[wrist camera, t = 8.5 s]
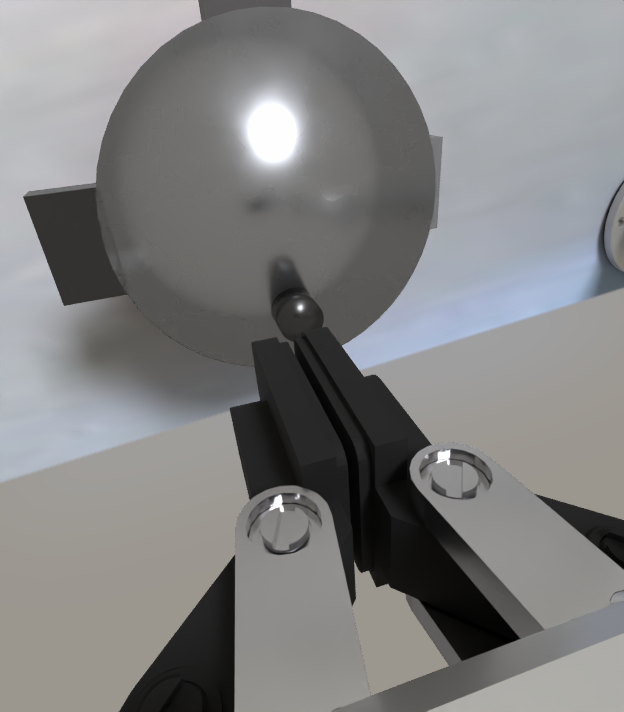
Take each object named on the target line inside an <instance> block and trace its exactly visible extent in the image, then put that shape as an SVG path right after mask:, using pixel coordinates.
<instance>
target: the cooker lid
mask: <svg viewBox="0 0 624 712" xmlns="http://www.w3.org/2000/svg"><path fill="white" fill-rule="evenodd" d="M23 198H24V200H25V203H26V206H27V208H28V211H29V214H30V216H31V219H32V222H33V224H34V227H35V230H36V232H37V235H38V238H39V240H40V243H41V246H42V248H43V251H44V254H45V256H46V259H47V262H48V264H49V267H50V270H51V272H52V275H53V278H54V280H55V283H56V286H57V288H58V291H59V294H60V296H61V299H62V302H63V304H64V306H65V305H71V304H76V303H82V302H87V301H93V300H99V299H104V298H110V297H115V296H121V295H126V294H128V295H129V297H130V298H131V300H132V301H133V302H134V304H135V305H136V306H137V308H138V309H139V310H140V311H141V312H142V313H143V314H144V315H145V316H146V317H147V318H148V319H149V320H150V321H151V322H152V323H153V324H154V325H155V326H156V327H157V328H159V329H160V330H161V331H162V332H164V333H165V334H166V335H167V336H169V337H170V338H172V339H173V340H175V341H177V342H178V343H180V344H181V345H183V346H185V347H186V348H188V349H191V350H193V351H195V352H197V353H199V354H201V355H204V356H206V357H210V358H213V359H216V360H219V361H222V362H227V363H232V364H238V365H244V366H255V365H254V359H253V353H252V345H251V342H254V341H259V340H263V339H268V338H273V337H277V338H278V340H279V342H280V343H281V342H286V341H287V342H288V343H289V345H290V347H291V349H292V351H293V352H294V340H296V339H301V333H302V332H303V331H308V330H312V329H317V328H322V327H328V328H329V330H330V331H331V332H332V334H333V335H334V337H335V338H336V339H337V341H338V342H339V343H340V345H341V346H342V345H344V344H345V343H347V342H349V341H350V340H352V339H353V338H355V337H356V336H358V335H359V334H361V333H362V332H363V331H365V330H366V329H367V328H368V327H369V326H371V325H372V324H373V323H374V322H375V321H376V320H377V319H379V318H380V316H381V315H382V314H383V313H384V312H385V311H386V310H387V309H388V308H389V307H390V306H391V305H392V303H393V302H394V301H395V299H396V298H397V297H398V295H399V294H400V293H401V291H402V290H403V289H404V287H405V285H406V284H407V282H408V280H409V279H410V277H411V275H412V274H413V272H414V270H415V268H416V266H417V263H418V261H419V259H420V257H421V255H422V252H423V249H424V246H425V243H426V241H427V238H428V235H429V230H430V226H431V221H432V217H433V211H434V202H435V164H434V155H433V148H432V144H431V140H430V135H429V131H428V127H427V125H426V122H425V119H424V117H423V114H422V111H421V109H420V106H419V104H418V102H417V100H416V98H415V97H414V95H413V93H412V91H411V89H410V87H409V85H408V84H407V83H406V81H405V80H404V78H403V77H402V76H401V74H400V73H399V71H398V70H397V69H396V67H395V66H394V65H393V64H392V63H391V62H390V61H389V60H388V59H387V57H386V56H385V55H384V54H383V53H382V52H381V51H380V50H379V49H378V48H377V47H375V46H374V45H373V44H372V43H370V42H369V41H368V40H366V39H365V38H364V37H363V36H361V35H360V34H359V33H357V32H355V31H353V30H352V29H350V28H348V27H346V26H345V25H343V24H341V23H339V22H338V21H335V20H332V19H330V18H327V17H324V16H322V15H319V14H316V13H314V12H309V11H304V10H299V9H294V8H289V7H263V6H261V7H253V8H246V9H239V10H233V11H230V12H227V13H223V14H220V15H217V16H214V17H210V18H208V19H206V20H204V21H202V22H200V23H198V24H196V25H194V26H192V27H190V28H188V29H186V30H184V31H182V32H181V33H180V34H178V35H177V36H175V37H174V38H173V39H171V40H170V41H168V42H167V43H166V44H164V45H163V46H162V47H160V48H159V49H158V50H157V51H156V52H155V53H154V54H153V55H152V56H151V57H150V58H149V59H148V60H147V61H146V62H145V63H144V64H143V65H142V66H141V67H140V69H139V70H138V72H137V73H136V74H135V76H134V77H133V78H132V80H131V81H130V83H129V84H128V85H127V87H126V88H125V89H124V91H123V93H122V95H121V97H120V99H119V101H118V103H117V105H116V106H115V108H114V110H113V112H112V114H111V117H110V120H109V122H108V125H107V128H106V131H105V134H104V137H103V140H102V144H101V149H100V154H99V160H98V165H97V177H96V183H92V184H84V185H76V186H68V187H61V188H53V189H45V190H37V191H29V192H28V193H27V194H26V195H25V196H23ZM294 354H295V352H294Z"/></svg>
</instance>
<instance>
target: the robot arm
mask: <svg viewBox="0 0 624 712" xmlns="http://www.w3.org/2000/svg"><path fill="white" fill-rule="evenodd" d="M604 245H605V250H606V254H607V257H608V259H609V260H610V262H611V264H612V265H613V266H614V267H615V268H617V269H618V270H620V271H622V272H624V183H623V185H622V186H621V188H620V190H619V192H618V193H617V195H616V197H615V199H614V201H613V203H612V206H611V208H610V210H609V214H608V217H607V221H606V225H605V233H604ZM251 345H252V353H253V359H254V365H255V371H256V377H257V384H258V390H259V396H260V401H258V402H253V403H249V404H245V405H240V406H236V407H232V408H230V412H231V417H232V421H233V426H234V432H235V436H236V441H237V446H238V450H239V455H240V459H241V464H242V469H243V473H244V477H245V481H246V486H247V490H248V494H249V499H250V501H249V502H248V503H247V504H246V505H245V506H244V508H243V509H242V511H241V513H240V514H239V516H238V519H237V524H236V529H235V555H234V557H233V558H232V559H231V561H230V562H229V563H228V565H227V566H226V567H225V568H224V570H223V571H222V572H221V574H220V575H219V577H218V578H217V579H216V580H215V582H214V583H213V584H212V586H211V587H210V588H209V590H208V591H207V592H206V593H205V595H204V596H203V597H202V599H201V600H200V601H199V603H198V604H197V605H196V607H195V608H194V609H193V611H192V612H191V613H190V615H189V616H188V617H187V619H186V620H185V621H184V623H183V624H182V626H180V628H179V629H178V630H177V632H176V633H175V634H174V636H173V637H172V638H171V640H170V641H169V642H168V644H167V645H166V646H165V648H164V649H163V650H162V652H161V653H160V654H159V656H158V657H157V658H156V660H155V661H154V662H153V664H152V665H151V666H150V667H149V669H148V670H147V671H146V673H145V674H144V675H143V677H142V678H141V679H140V681H139V682H138V683H137V685H136V686H135V687H134V689H133V690H132V691H131V693H130V695H129V696H128V698H127V700H126V701H125V703H124V705H123V706H122V708H121V710H120V711H119V712H624V520H621V519H618V518H615V517H611V516H608V515H604V514H601V513H597V512H594V511H591V510H587V509H584V508H580V507H577V506H574V505H570V504H567V503H564V502H560V501H556V500H553V499H550V498H546V497H543V496H540V495H536V494H533V493H532V492H531V491H530V490H529V489H527V488H526V487H525V486H524V485H523V484H521V483H520V482H519V481H518V480H517V479H516V478H514V477H513V476H512V475H511V474H510V473H508V472H507V471H506V470H505V469H504V468H503V467H501V466H500V465H499V464H498V463H497V462H496V461H494V460H493V459H492V458H491V457H489V456H488V455H486V454H485V453H483V452H482V451H480V450H478V449H475V448H473V447H470V446H468V445H464V444H458V443H438V444H434V445H431V443H430V442H429V441H428V440H427V438H426V437H425V436H424V434H423V433H422V432H421V431H420V429H419V428H418V427H417V425H416V424H415V423H414V422H413V420H412V419H411V418H410V416H409V415H408V414H407V413H406V411H405V410H404V409H403V408H402V406H401V405H400V404H399V402H398V401H397V400H396V399H395V397H394V396H393V395H392V393H391V392H390V391H389V389H388V388H387V387H386V386H385V384H384V383H383V382H382V381H381V379H380V378H379V377H378V376H376V375H370V376H366V377H364V376H363V375H362V374H361V372H360V371H359V370H358V368H357V367H356V365H355V364H354V363H353V361H352V360H351V359H350V357H349V356H348V354H347V353H346V352H345V350H344V349H343V348H342V346H341V345H340V343H339V342H338V341H337V339H336V338H335V337H334V335H333V334H332V332H331V331H330V330H329V328H328V327H322V328H317V329H312V330H308V331H303V332H302V333H301V339H296V340H294V352H295V354H294V352H293V351H292V349H291V347H290V345H289V343H288V342H287V341H286V342H281V343H280V342H279V340H278V338H277V337H273V338H268V339H263V340H259V341H254V342H251ZM354 561H355V563H356V565H357V567H358V570H359V571H360V572H361V573H362V572H365V571H369V572H370V574H371V576H372V578H373V580H374V583H375V585H376V587H379V586H382V585H385V584H389V586H390V587H391V588H393V589H396V590H398V591H400V592H402V593H405V594H406V600H407V602H408V604H409V606H410V608H411V610H412V612H413V613H414V615H415V616H416V618H417V619H418V621H419V622H420V623H421V625H422V626H423V628H424V629H425V631H426V632H427V634H428V635H429V637H430V638H431V640H432V641H433V643H434V644H435V646H436V647H437V649H438V650H439V652H440V653H441V654H442V656H443V657H444V659H445V660H446V662H447V663H448V665H449V666H448V667H446V668H443V669H441V670H438V671H435V672H432V673H430V674H427V675H425V676H422V677H419V678H417V679H414V680H411V681H409V682H406V683H404V684H401V685H398V686H396V687H393V688H391V689H388V690H385V691H383V692H380V693H378V694H375V695H372V696H371V692H370V688H369V683H368V679H367V674H366V669H365V665H364V660H363V656H362V651H361V646H360V642H359V637H358V633H357V628H356V623H355V619H354V614H353V610H352V606H353V604H354V601H355V599H356V592H355V573H354Z"/></svg>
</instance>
